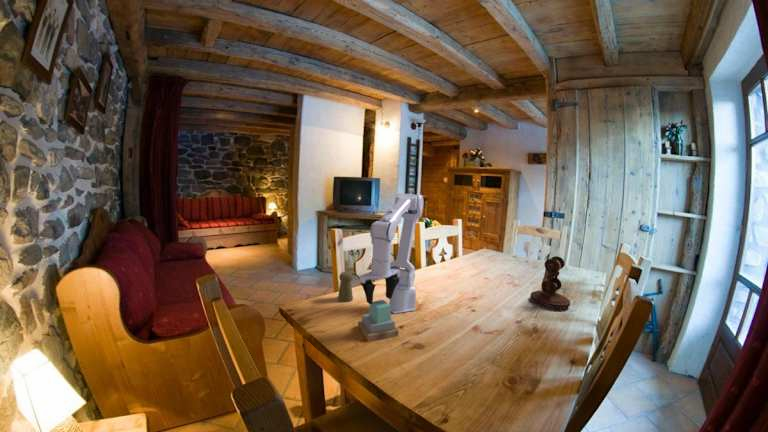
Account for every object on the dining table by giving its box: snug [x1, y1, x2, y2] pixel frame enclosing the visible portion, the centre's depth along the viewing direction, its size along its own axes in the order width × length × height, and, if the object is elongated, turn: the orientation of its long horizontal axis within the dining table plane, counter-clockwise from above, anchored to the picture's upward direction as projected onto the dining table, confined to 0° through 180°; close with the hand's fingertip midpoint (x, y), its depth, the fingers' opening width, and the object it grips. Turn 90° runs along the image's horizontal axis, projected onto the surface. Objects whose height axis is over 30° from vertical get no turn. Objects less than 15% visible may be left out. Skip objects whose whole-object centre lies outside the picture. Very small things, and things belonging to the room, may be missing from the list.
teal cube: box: [368, 299, 392, 324], centre depth 97 cm, size 5×5×5 cm
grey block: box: [361, 313, 396, 333], centre depth 98 cm, size 8×8×2 cm
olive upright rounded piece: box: [337, 271, 354, 303], centre depth 121 cm, size 6×6×11 cm
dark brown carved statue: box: [530, 255, 571, 312], centre depth 126 cm, size 15×15×20 cm
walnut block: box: [357, 319, 399, 342], centre depth 98 cm, size 10×10×2 cm
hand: (379, 300), depth 97 cm, fingers open, 7 cm apart
